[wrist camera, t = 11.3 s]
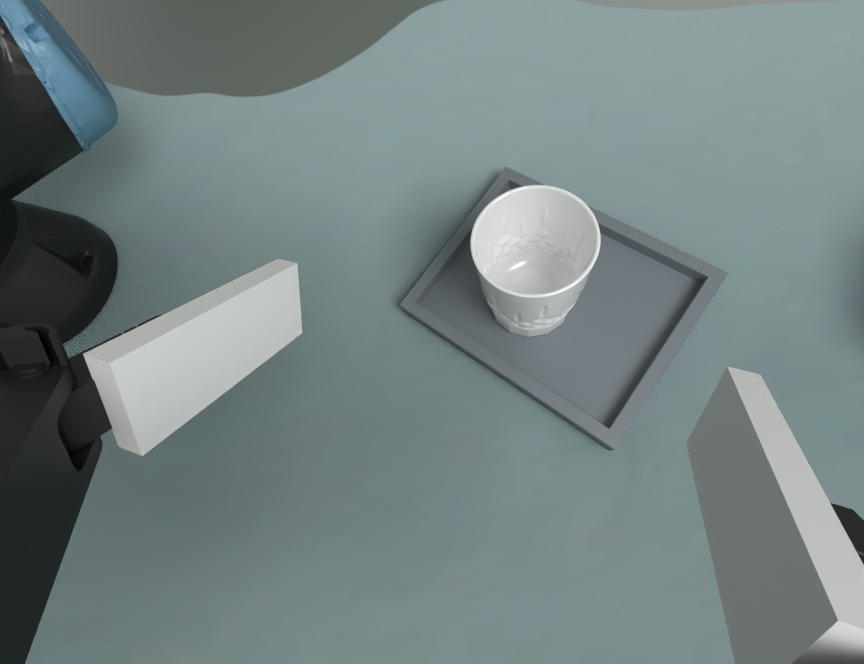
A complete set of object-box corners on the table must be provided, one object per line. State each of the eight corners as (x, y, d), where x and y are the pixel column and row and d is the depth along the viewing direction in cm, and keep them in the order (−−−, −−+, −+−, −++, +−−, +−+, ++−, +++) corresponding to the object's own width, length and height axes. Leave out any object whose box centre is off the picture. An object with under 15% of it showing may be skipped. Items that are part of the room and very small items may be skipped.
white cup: (485, 256, 38) (474, 186, 29) (579, 256, 36) (599, 182, 27) (479, 342, 36) (465, 296, 26) (579, 346, 34) (601, 298, 25)
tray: (404, 312, 39) (399, 304, 37) (506, 179, 41) (505, 166, 39) (610, 450, 32) (615, 449, 30) (718, 282, 34) (728, 272, 33)
